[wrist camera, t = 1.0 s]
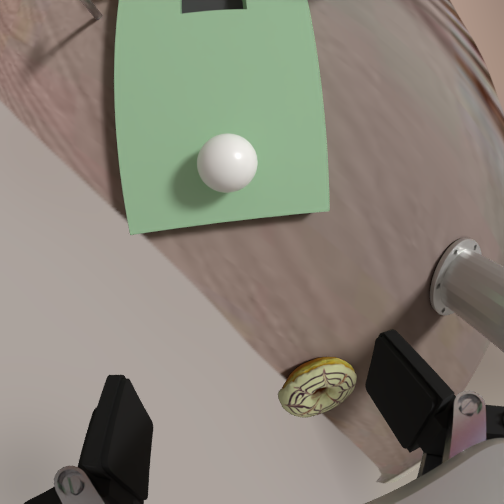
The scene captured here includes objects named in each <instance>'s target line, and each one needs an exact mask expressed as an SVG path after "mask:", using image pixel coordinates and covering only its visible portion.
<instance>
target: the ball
mask: <svg viewBox="0 0 504 504" xmlns="http://www.w3.org/2000/svg"><path fill="white" fill-rule="evenodd" d="M257 165H258V160H257V155H256V152H255V150H254V148H253V146H252V145H251V144H250V143H249V142H248V141H247V140H246V139H245V138H243V137H241V136H239V135H236V134H230V133H226V134H220V135H217V136H214V137H212V138H211V139H209V140H208V141H207V142H206V143H205V144H204V145H203V146H202V148H201V150H200V151H199V154H198V158H197V169H198V173H199V175H200V177H201V179H202V181H203V182H204V183H205V184H206V185H207V186H208V187H210V188H211V189H213V190H215V191H218V192H223V193H231V192H235V191H238V190H241V189H242V188H244V187H245V186H247V185H248V184H249V183H250V182H251V180H252V179H253V178H254V176H255V173H256V170H257Z"/></svg>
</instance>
